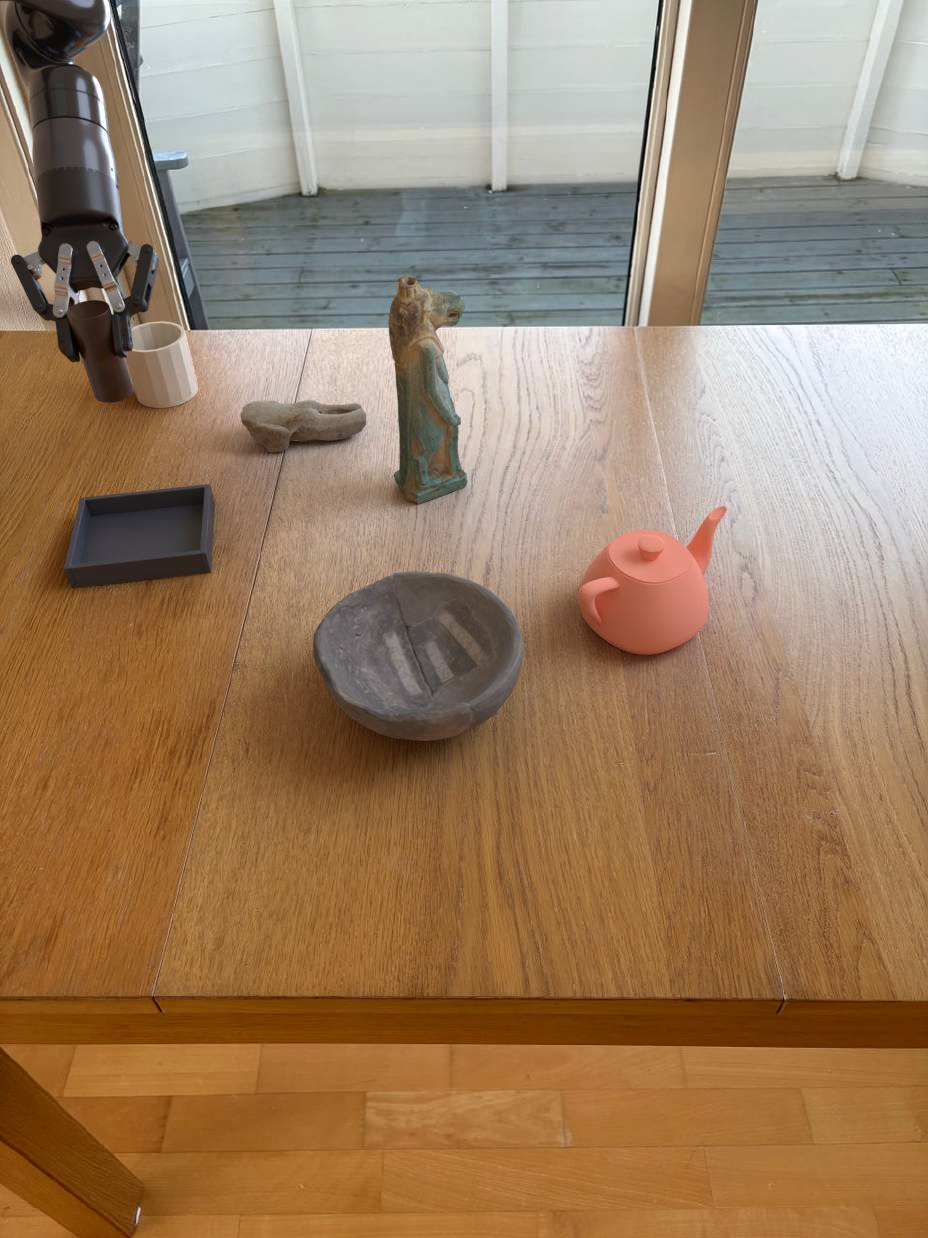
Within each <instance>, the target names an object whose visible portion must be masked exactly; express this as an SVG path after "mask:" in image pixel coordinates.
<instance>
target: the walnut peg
mask: <svg viewBox="0 0 928 1238" xmlns="http://www.w3.org/2000/svg"><path fill="white" fill-rule="evenodd" d="M66 314H67V317H68V320H69V323H70V326H71V329H72V332H73V335H74V338H75V341H76V344H77V347H78V350H79V355H80V360H81V362H82V364H83V368H84V370H85V373H86V377H87V379H88V382H89V385H90V389H91V391H92V394H93V396H94V399H95V400H96V401H98V402H100V403H104V404H105V403H106V404H112V403H118V402H122V401H124V400H127V399H129V398H130V397H131V396H132V395H133V394H134V393H135V392H134V385H133V382H132V379H131V375H130V372H129V369H128V365H127V362H126V359H125V358H120V357H119V356H118V355H117V354H116V352H115V347H114V339H113V331H112V322H111V314H113V312H112V309H111V306H110V303H108V302H107V301H105V300H100V299H90V300H89V299H88V300H83V301H80V302H78V303H77V304H75V305H73V306H71V307H70V308H69V309H68V310H67V313H66Z"/></svg>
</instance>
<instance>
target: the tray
mask: <svg viewBox="0 0 928 1238" xmlns="http://www.w3.org/2000/svg"><path fill="white" fill-rule="evenodd" d="M215 509H216V501H215V498H214V493H213V489H212V486H211V484H210V483H206V484H196V485H187V486H178V487H168V488H158V489H149V490H139V491H131V492H130V491H129V492H120V493H112V494H103V495H94V496H86V497H85V496H82V497H79V502H78V506H77V509H76V514H75V520H74V523H73V528H72V532H71V535H70V541H69V545H68V549H67V553H66V558H65V563H64V567H63V571H64V573H65V575H66V577H67V580H68V583H69V585H70V587H71V589H81V588H87V587H88V588H89V587H97V586H106V585H115V584H122V583H132V582H142V581H148V580H149V581H150V580H158V579H165V578H166V579H167V578H174V577H175V578H177V577H184V576H192V575H199V574H201V575H202V574H210V573H212V563H213V560H212V559H213V544H214V542H213V541H214V528H215V511H216V510H215Z"/></svg>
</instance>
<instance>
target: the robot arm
mask: <svg viewBox="0 0 928 1238" xmlns="http://www.w3.org/2000/svg"><path fill="white" fill-rule="evenodd" d="M3 1H4V2H6V4H5V9H4V18H3V24H4V25H3V26H4V27H3V28H4V34H5V39H6V41H7V44H8V47H9V50H10V52H11V56H12V58H13V60H14V63H15V66H16V67H17V71H18V74H19V77H20V78H21V82H22V84H23V87H24V88H25V90H26V92H27V96H28V97H27V98H28V107H29V116H30V124H31V133H32V134H31V135H32V148H31V149H32V150H31V151H32V152H31V153H32V154H31V155H32V166H33V174H34V184H35V192H36V199H37V200H36V201H37V207H38V217H39V227H40V232H41V237H40V242H39V244H38V247H37V251H35V252H33V253H30V254H27V255H25V256H22V255H20V254H13V255H12V256H11V257H10V263H11V266H12V268H13V270H14V272H15V275H16V277H17V278H18V280H19V282H20V285H21V286H22V289H23V291H24V293H25V295H26V297H27V299H28V301H29V303H30V305H31V307H32V310H33V311H34V312H35V313H36V314H38V316H40V317H41V318H42V319H43V320H44V321H47V322H49V321H52V322H55V323H54V324H55V329H56V337H57V338H56V340H57V345H58V346H57V348H58V350H59V351H60V353H61V354H62V355H63V356H64V357H66V359H67V360H68V361H70V362H71V363H80V361H81V356H80V353H79V350H78V347H77V344H76V341H75V338H74V335H73V332H72V329H71V326H70V323H69V320H68V317H67V314H66V313H67V310H68V309H69V308H70V307H71V306H73V305H75V304H77V303H80V302H79V301H80V295H81V291H86V290H89V289H91V288H95V289H101V290H104V292H105V293H106V297H107V299H108V301H109V305H111V306H110V307H111V308H112V314H111V322H112V331H113V339H114V347H115V352H116V354H117V355H118V356H119V357H120V358H126V357H128V351H132V349H133V340H132V330H131V328H132V322H131V320H132V318H133V316H135V315H137V314H139V313H142V314H143V313H146V312H148V311H149V308H150V305H151V300H152V296H153V289H154V287H155V281H156V277H157V272H158V269H159V263H160V258H159V256H158V254H157V252H156V250H155V248H154V247H153V246H152V244H150V243H144V244H142V245H137V244H132V243H130V242H129V241H128V239H127V238H126V236H125V231H124V230H125V229H124V222H123V214H122V206H121V205H122V204H121V198H120V189H119V183H120V181H119V179H120V178H119V173H118V170H117V165H116V164H117V163H116V159H115V155H114V150H113V147H112V143H111V138H110V137H111V136H110V128H109V120H108V119H109V117H108V112H107V111H108V110H107V104H106V98H105V93H104V89H103V87H102V85H101V82H100V81H99V79H98V78H97V76H95V74H93V73H92V72H91V71H90V70H88V69H87V68H85V67H82V66H80V65H78V64H75V62H76V58H77V57H79V56H80V55H81V54H82V53H83V52H85V51H86V50H87V49H89V48H90V47H92V46H93V45H94V44H96V43H97V42H98V41H99V40H101V38H103V37H104V36H105V34H106V33H107V32H108V30H109V28H110V26H111V21H112V8H111V3H110V0H0V2H3ZM130 258H131V262H132V265H133V266H134V269H135V272H134V277H133V282H132V286H131V291H130V295H128V296H127V297H125V292H124V290H123V288H122V285H121V283H120V281H119V278H118V277H119V276H120V273H121V272H122V271H123V269H124V267H125V265H126V263H127V262H128V260H129V259H130ZM44 265H46V266H47V267H48V268H49V269H50V270H51V271H52V272H53V273H54V274H55V280H54V285H53V286H54V287H53V288H54V292H55V293H54V298H53V299H54V300H53V303H50V301H49V299H48V297H47V296H46V293H45V291H44V290H43V287H42V285H41V284H40V281H39V280H40V279H41V278H42V277H43V271H42V267H43V266H44Z"/></svg>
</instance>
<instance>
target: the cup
mask: <svg viewBox="0 0 928 1238" xmlns="http://www.w3.org/2000/svg"><path fill="white" fill-rule="evenodd" d="M131 330H132V340H133V349H132V351H128V357H126V358H125V359H126V362H127V365H128V369H129V372H130V375H131V379H132V382H133V385H134V392H133V393H134V394H135V396H136V399H137V401H138V402H139V403H140V404H141V405H143V406H145V407H148V408H153V409H166V408H168V409H169V408H173V407H177V406H180V405H182V404H185V403H187V402H189V401H190V400H191V399H194V397H195V396H196V395H197V393H198V391H199V385H198V378H197V374H196V370H195V366H194V362H193V357H192V353H191V350H190V345H189V342H188V337H187V333H186V330H185V328H183V326H182V325H180V324H177V323H175V322H172V321H163V320H162V321H151V322H149V321H148V322H146V323H145V322H144V323H142V324H138V325H136V326H133V327H131Z"/></svg>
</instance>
